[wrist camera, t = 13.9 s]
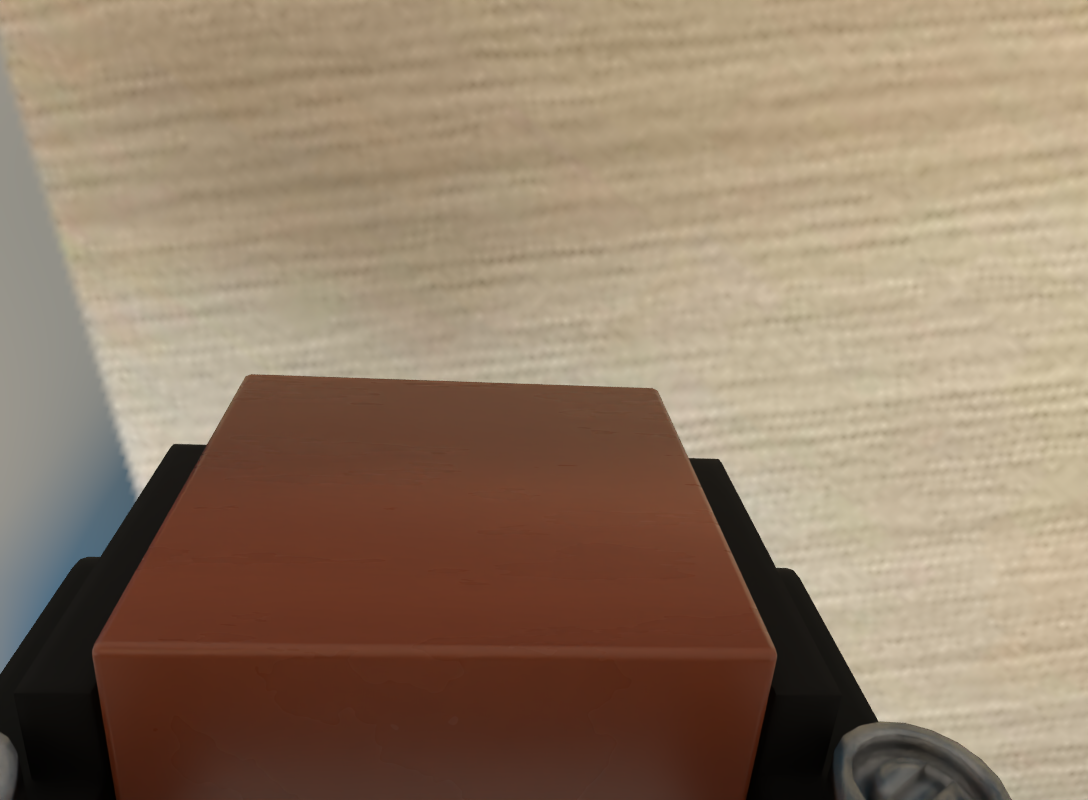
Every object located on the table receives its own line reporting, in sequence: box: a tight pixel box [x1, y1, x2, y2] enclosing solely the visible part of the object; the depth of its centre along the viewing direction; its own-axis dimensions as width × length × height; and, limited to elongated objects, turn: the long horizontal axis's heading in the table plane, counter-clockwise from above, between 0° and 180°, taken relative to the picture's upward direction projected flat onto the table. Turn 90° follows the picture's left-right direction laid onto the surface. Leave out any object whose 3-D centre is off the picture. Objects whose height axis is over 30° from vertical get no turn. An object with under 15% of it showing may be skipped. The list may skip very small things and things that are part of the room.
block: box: [92, 374, 777, 800], centre depth 9 cm, size 4×4×4 cm
